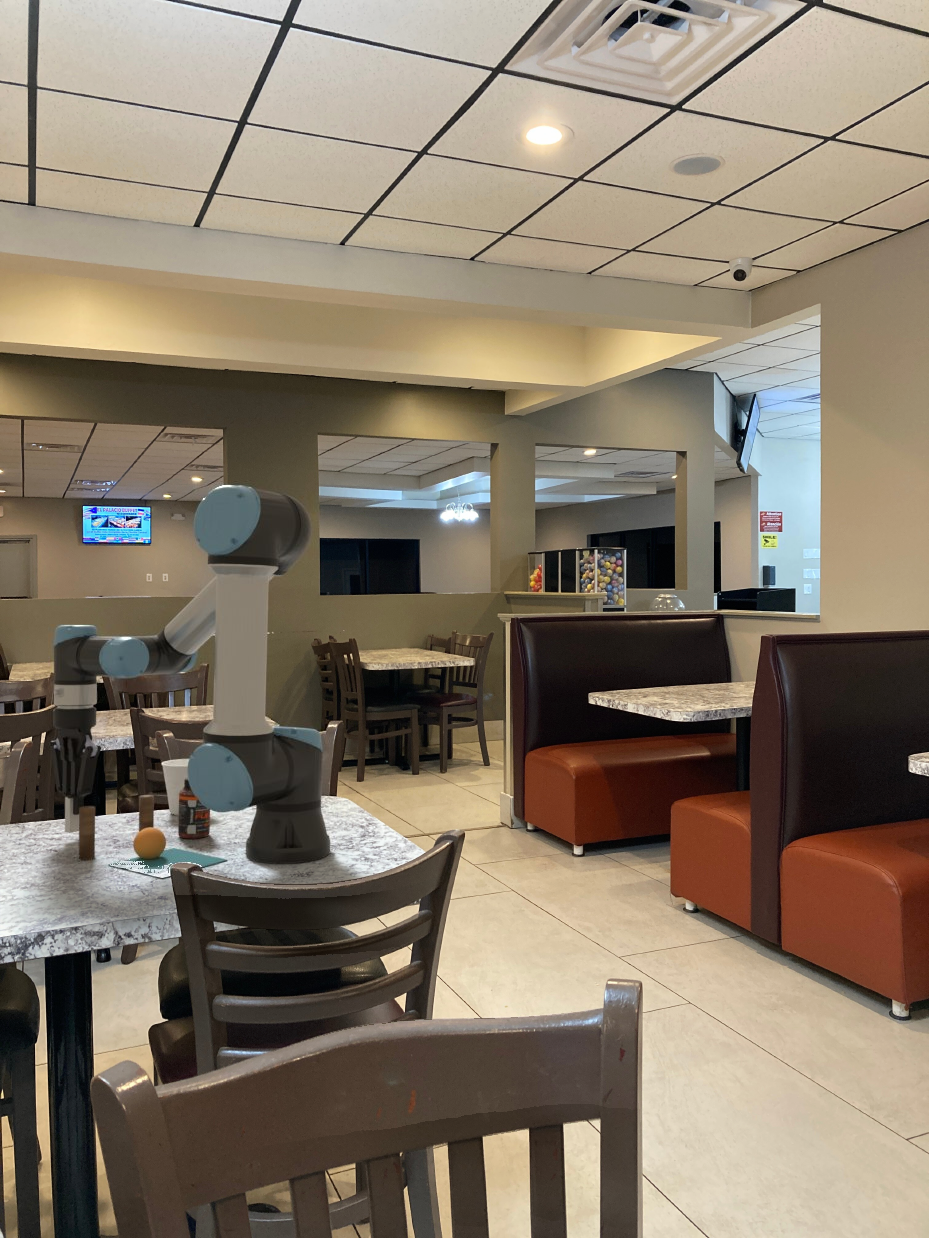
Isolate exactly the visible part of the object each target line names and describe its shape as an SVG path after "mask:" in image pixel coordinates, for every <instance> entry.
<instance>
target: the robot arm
mask: <svg viewBox="0 0 929 1238" xmlns="http://www.w3.org/2000/svg"><path fill="white" fill-rule="evenodd" d="M312 530H313V527H312V521H311V517H310V515H309V513H308V511H307V509H306V507H304V505H303V504H302V503H301V502H300V501H299V500H298V499H296V498H295V497H293V496H291V495H289V494H285V493H282V492H281V493H280V492H274V491H270V490H269V491H268V490H264V489H261V488H260V489H259V488H256V487H251V486H248V485H232V484H226V485H221V486H218V487H216V488H213V489H212V490H211V491H209V492H207V495H206V496H205V497H204V498H203V499H201V501H200V503H199V504H198V506H197V508H196V511H195V514H194V518H193V534H194V539H195V541H196V542H198V545H199V547H200V549H202V550H203V551H204V552H205V553H207V567H208V568H209V569H210V571H212V573H214V575H215V576H214V577H213V578H212V579H211V580H210V581H209V582H208V583H207V584H206V585H205V586H204V587H203V588H202V589H201V591H199V592H198V593H197V594H196V596H194V598H192V599H191V600H190V602H188V604H187V605H185V606H184V608H182V609H181V610H180V612H179V613H177V615H175V616H174V618H173V619H172V620H171V621H169V622H168V623H167V625H166V626H164V627H163V628H162V629H161V630H160V631H159V632H158V633H157V634H156V635H142V636H141V635H139V636H137V635H136V636H132V635H131V636H130V635H129V636H127V635H126V636H125V635H124V636H121V635H120V636H99V634H98V628H97V626H95V625H91V624H90V625H89V624H61V625H58V626H57V627H56V628H55V631H54V641H53V646H52V647H53V648H52V649H53V685H54V688H53V704H54V706H57V707H55V708H54V709H53V711H52V712H53V713H52V714H53V716H52V719H53V720H52V722H53V723H52V725H53V727H54V728H56V729H58V732H57V738H56V739H55V740H49V742H48V747H49V749H50V752H51V757H52V764H53V772H54V778H55V787H56V791H57V793H61V794H62V796H63V797H64V832H65V833H69V834H72V833H76V832H79V808H80V807H83V806H85V805H84V803H85V802H84V801H85V800H84V799H85V797H86V796H88V795H91V794H92V793H93V787H94V786H93V785H94V781H95V776H96V770H97V763H98V758H99V755H100V752H101V751H102V746H101V745H100V744H98V745H97V744H95V743H94V742H93V734H92V730H91V729H92V728H94V727H96V725H97V708H96V706H94V705H96V704H97V703H98V702H97V701H98V691H97V688H98V687H97V686H98V685H97V683H98V680H97V677H104V678H114V679H120V680H122V679H132V678H137V677H139V676H150V675H176V674H180V673H184V672H187V671H189V670H191V669H192V668H193V667H194V666H195V664H196V661H197V659H198V653H199V651H198V650H199V649H200V648H201V647H202V646H203V645H204V644H205V643H206V642H207V641H208V640H209V639H210V638H212V637H213V636H214V663H213V664H214V669H213V703H212V704H213V706H212V708H213V710H212V720H211V721H210V722H209V723H208V724H207V725H205V727H204V728H203V731H202V732H203V734H202V744H201V745H199V746H198V747H197V748H196V749H195V750H194V751H193V754H190V756H189V758H188V759H189V762H188V768H187V774H188V781H189V784H190V787H191V790H192V792H193V793H194V795H195V796H196V797H198V799H199V801H200V802H201V804H202V805H204V806H205V807H206V808H208V809H210V811H213V812H215V813H229V812H240V811H244V810H246V809H248V808H251V807H255V814H254V817H253V821H252V823H251V827H250V831H249V836H248V837H247V838H246V842H245V856H246V858H248V859H250V860H253V861H256V862H260V863H268V864H296V863H305V862H306V863H307V862H312V861H316V860H319V859H322V858H326V856H328V855H329V854H330V853H331V838H330V836H329V834H328V832H327V827H326V823H325V820H324V816H323V812H322V776H323V775H322V774H323V773H322V771H323V770H322V769H323V766H322V765H323V753H324V749H323V744H322V741H323V740H322V734H321V733H320V732H319V731H318V730H317V729H314V728H307V727H295V726H281V725H280V726H279V725H278V726H277V725H271V724H270V723H269V722H268V721H267V719H266V703H267V701H266V699H267V696H266V695H267V660H268V659H267V657H268V623H269V618H268V617H269V588H270V587H269V586H270V585H269V584H270V583H269V582H270V581H271V580H272V579H273V578H275V577H282V576H284V575H285V574H286V573H287V572H288V571H290V570H291V569H292V568H293V567H294V565H296V564H297V563H298V561H299V560H300V559H301V558H302V557H303V555H304V554H305V553H306V551H307V549H308V547H309V545H310V542H311V538H312V534H313V533H312Z"/></svg>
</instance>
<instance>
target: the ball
mask: <svg viewBox="0 0 929 1238" xmlns="http://www.w3.org/2000/svg"><path fill="white" fill-rule="evenodd" d="M166 846H167V838H166V836H165V833H164V832H163V831H162V830H160V829H158V828H156V827H154V828H152V827H150V828H145V829H143V830H141V831H140V832H139V831H138V833H137V834H136V835H135V837H134V839H133V850H134V852H135V854H136V855H137V857H141V858H143V859H154V858H157V857H158V856H160V855H161V854H162V853H163V851H164V850H165V849H166Z"/></svg>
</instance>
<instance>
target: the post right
mask: <svg viewBox="0 0 929 1238" xmlns="http://www.w3.org/2000/svg"><path fill="white" fill-rule="evenodd" d="M138 806H139V807H138V808H139V809H138V833H139V832H140V831H141V830H143V829H145V828H150V827H152V828H155V827H154V825H155V824H154V823H155V821H154V820H155V817H154V815H155V809H154V807H155V795H153V794H144V795H140V796H139V797H138Z"/></svg>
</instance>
